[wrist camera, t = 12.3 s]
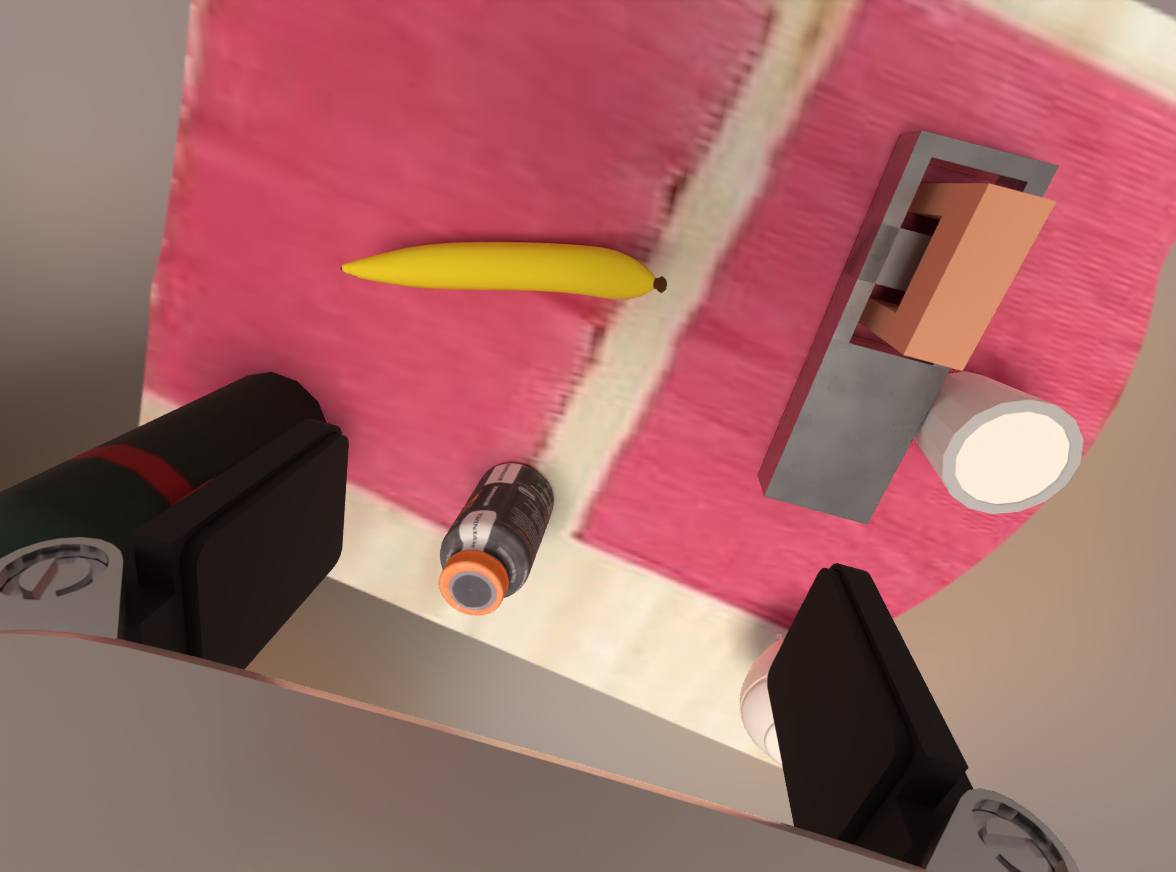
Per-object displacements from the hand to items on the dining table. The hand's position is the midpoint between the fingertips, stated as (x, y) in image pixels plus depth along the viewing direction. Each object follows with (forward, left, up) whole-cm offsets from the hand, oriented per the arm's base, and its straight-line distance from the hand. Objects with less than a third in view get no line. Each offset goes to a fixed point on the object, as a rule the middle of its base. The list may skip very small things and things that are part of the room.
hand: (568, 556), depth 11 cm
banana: (0, -8, -29) cm, 30 cm away
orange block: (-6, +15, -28) cm, 33 cm away
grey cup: (+2, +22, -28) cm, 36 cm away
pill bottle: (+17, -5, -28) cm, 34 cm away
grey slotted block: (-1, +15, -28) cm, 32 cm away
